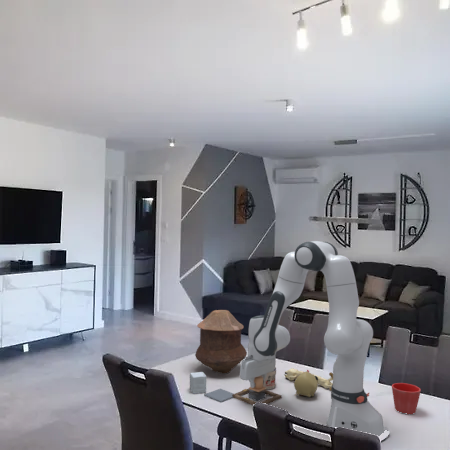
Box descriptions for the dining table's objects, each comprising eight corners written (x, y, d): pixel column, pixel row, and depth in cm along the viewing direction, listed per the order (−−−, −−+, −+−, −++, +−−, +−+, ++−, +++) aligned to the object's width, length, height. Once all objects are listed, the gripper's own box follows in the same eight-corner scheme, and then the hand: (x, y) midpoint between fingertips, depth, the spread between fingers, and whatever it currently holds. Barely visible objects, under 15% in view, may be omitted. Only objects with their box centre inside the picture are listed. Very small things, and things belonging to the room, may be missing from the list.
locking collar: (281, 398, 200) (281, 394, 200) (259, 407, 189) (259, 404, 189) (254, 388, 211) (254, 385, 211) (232, 397, 200) (232, 393, 200)
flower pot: (396, 403, 198) (397, 380, 198) (423, 410, 191) (424, 387, 191) (387, 410, 190) (387, 387, 190) (414, 418, 183) (415, 394, 183)
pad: (236, 396, 201) (237, 394, 201) (220, 402, 194) (220, 401, 194) (220, 389, 208) (220, 388, 208) (204, 395, 201) (204, 394, 201)
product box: (202, 387, 210) (203, 371, 210) (206, 392, 204) (206, 376, 204) (189, 389, 208) (189, 372, 208) (192, 394, 202) (193, 377, 202)
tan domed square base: (265, 389, 200) (266, 377, 200) (258, 392, 196) (258, 380, 196) (255, 385, 204) (255, 374, 204) (248, 388, 200) (248, 376, 200)
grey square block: (265, 397, 200) (265, 390, 200) (257, 401, 197) (258, 393, 196) (256, 394, 204) (256, 387, 204) (248, 397, 200) (248, 390, 200)
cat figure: (337, 389, 216) (289, 373, 231) (339, 371, 216) (291, 356, 230) (328, 396, 208) (279, 378, 223) (331, 377, 208) (281, 361, 222)
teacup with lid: (267, 391, 208) (268, 365, 207) (251, 386, 214) (252, 360, 213) (283, 384, 217) (284, 359, 216) (267, 379, 223) (268, 355, 222)
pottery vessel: (230, 383, 217) (231, 318, 216) (184, 372, 229) (186, 311, 229) (254, 368, 239) (256, 309, 238) (212, 359, 252) (213, 303, 251)
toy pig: (321, 393, 207) (322, 369, 207) (312, 402, 197) (313, 377, 196) (300, 389, 212) (301, 365, 212) (290, 397, 202) (291, 372, 201)
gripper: (248, 360, 190) (247, 393, 190) (278, 350, 205) (277, 381, 205) (236, 356, 194) (235, 389, 194) (267, 347, 209) (266, 378, 209)
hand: (257, 385), depth 200 cm, fingers closed on tan domed square base, 5 cm apart
